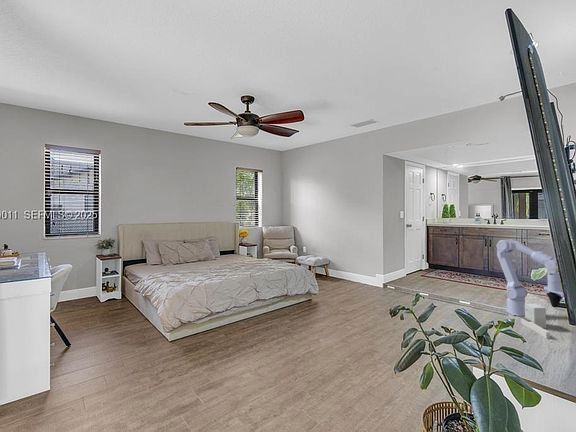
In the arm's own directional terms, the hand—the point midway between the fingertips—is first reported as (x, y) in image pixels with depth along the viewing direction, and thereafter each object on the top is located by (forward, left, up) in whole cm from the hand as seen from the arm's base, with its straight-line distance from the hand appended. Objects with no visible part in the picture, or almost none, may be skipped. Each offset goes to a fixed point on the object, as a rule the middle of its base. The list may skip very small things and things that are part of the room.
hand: (555, 307), depth 161 cm
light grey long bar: (+9, -15, -9) cm, 20 cm away
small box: (+2, -11, -10) cm, 15 cm away
